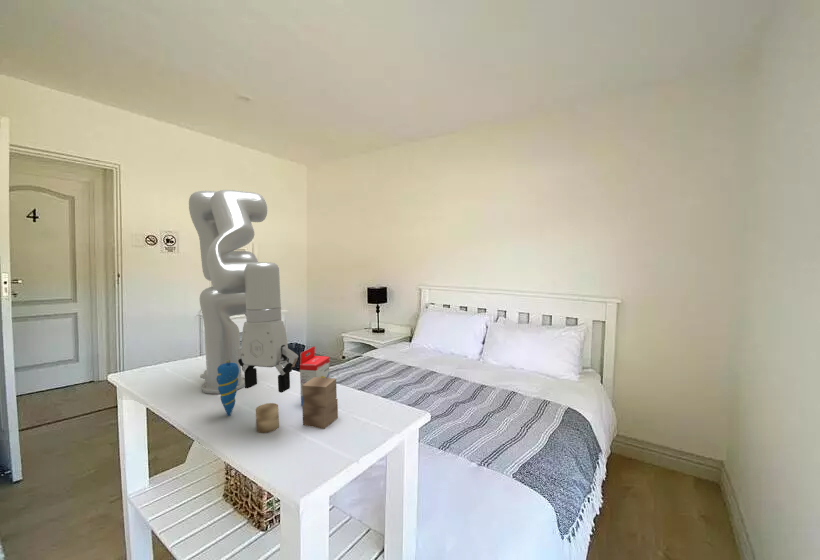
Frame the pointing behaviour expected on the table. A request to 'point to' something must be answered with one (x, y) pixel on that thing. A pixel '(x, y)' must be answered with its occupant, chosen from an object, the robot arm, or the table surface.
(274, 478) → the table surface
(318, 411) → the bottom block
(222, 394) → the ornament
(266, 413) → the beige knob
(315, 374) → the ink box
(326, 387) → the top block
